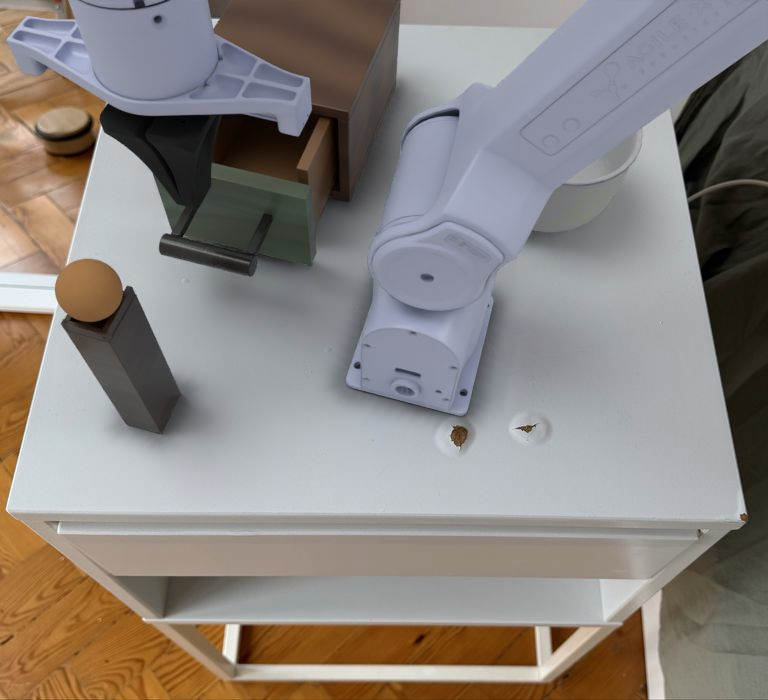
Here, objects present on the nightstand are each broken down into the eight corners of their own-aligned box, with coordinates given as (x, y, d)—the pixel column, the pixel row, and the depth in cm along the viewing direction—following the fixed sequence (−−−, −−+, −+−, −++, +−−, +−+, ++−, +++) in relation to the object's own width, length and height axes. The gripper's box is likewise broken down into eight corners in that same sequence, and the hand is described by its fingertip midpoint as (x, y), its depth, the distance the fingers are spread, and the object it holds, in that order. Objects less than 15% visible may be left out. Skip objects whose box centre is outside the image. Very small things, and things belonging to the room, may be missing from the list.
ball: (113, 340, 35) (94, 305, 32) (56, 325, 35) (32, 289, 33) (140, 291, 36) (123, 254, 34) (85, 277, 37) (64, 239, 34)
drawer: (288, 321, 48) (279, 257, 42) (143, 284, 49) (114, 217, 44) (361, 143, 57) (362, 70, 51) (236, 115, 58) (223, 40, 52)
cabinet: (349, 202, 55) (348, 112, 47) (205, 168, 56) (182, 75, 49) (396, 85, 62) (401, -9, 54) (266, 58, 63) (254, -38, 56)
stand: (161, 434, 45) (105, 335, 35) (125, 424, 45) (60, 323, 35) (181, 393, 46) (133, 286, 36) (146, 383, 47) (89, 275, 37)
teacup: (605, 154, 58) (639, 71, 51) (614, 262, 53) (652, 184, 46) (432, 138, 59) (442, 52, 52) (423, 243, 53) (432, 163, 46)
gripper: (327, -52, 31) (335, 173, 43) (23, -113, 33) (110, 120, 45) (270, 49, 28) (295, 264, 40) (-67, -25, 30) (52, 203, 41)
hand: (193, 194), depth 42 cm, fingers closed
